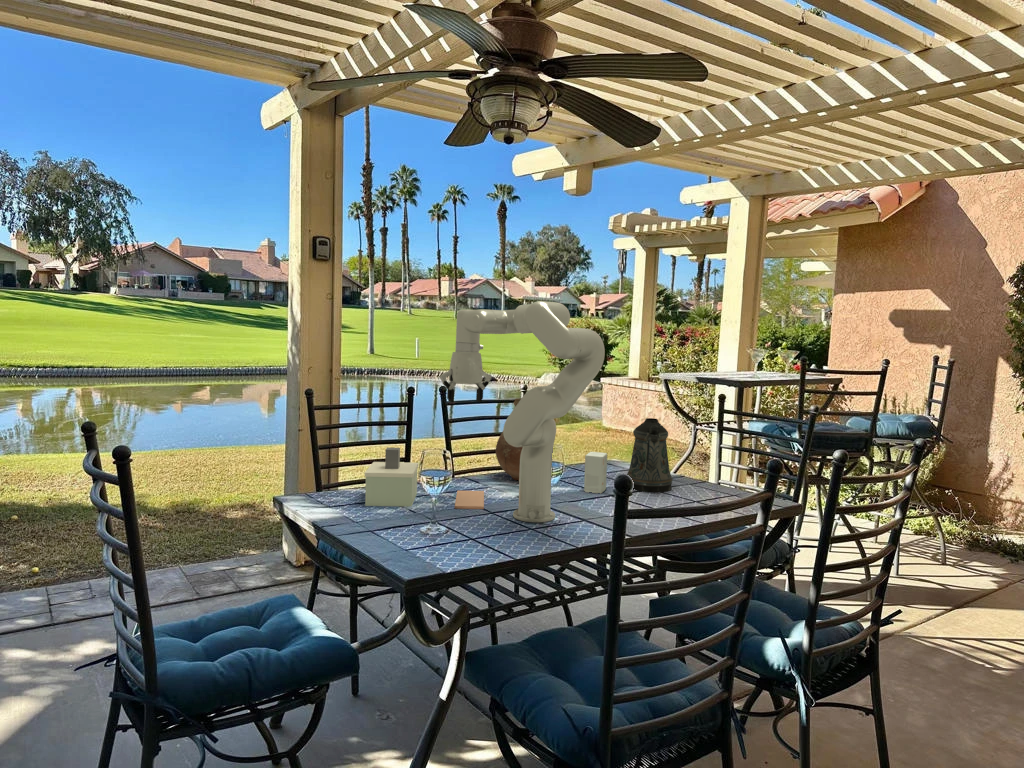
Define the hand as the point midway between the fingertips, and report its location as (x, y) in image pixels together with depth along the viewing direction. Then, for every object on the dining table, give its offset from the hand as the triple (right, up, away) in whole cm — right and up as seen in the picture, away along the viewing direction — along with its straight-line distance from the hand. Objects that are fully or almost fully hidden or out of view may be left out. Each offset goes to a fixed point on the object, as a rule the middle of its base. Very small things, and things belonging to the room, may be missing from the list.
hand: (465, 401), depth 218 cm
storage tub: (-23, -32, -3) cm, 39 cm away
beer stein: (+65, -32, +26) cm, 77 cm away
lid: (-23, -23, -4) cm, 32 cm away
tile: (-3, -32, +1) cm, 32 cm away
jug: (+20, -30, +36) cm, 51 cm away
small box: (+44, -32, +20) cm, 58 cm away
